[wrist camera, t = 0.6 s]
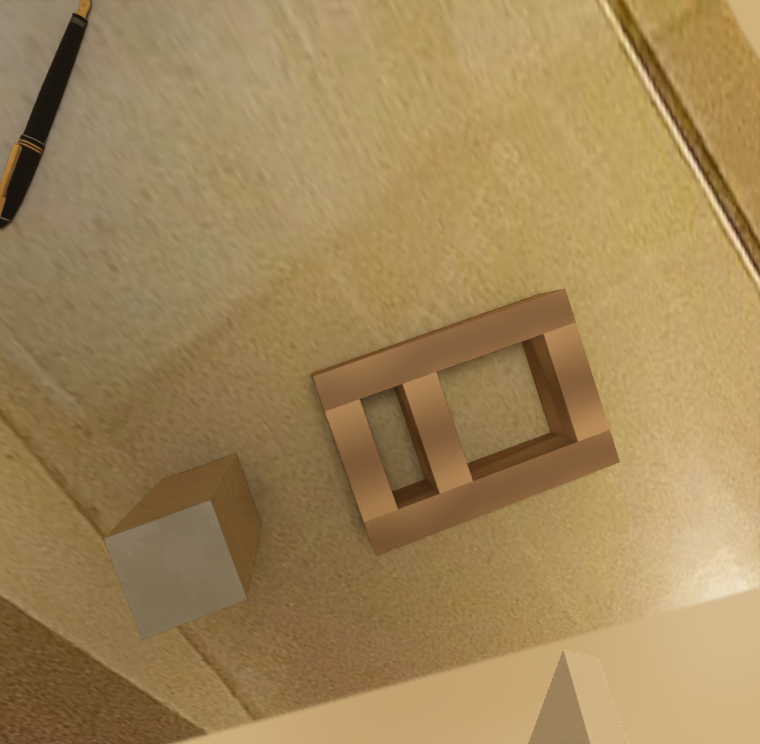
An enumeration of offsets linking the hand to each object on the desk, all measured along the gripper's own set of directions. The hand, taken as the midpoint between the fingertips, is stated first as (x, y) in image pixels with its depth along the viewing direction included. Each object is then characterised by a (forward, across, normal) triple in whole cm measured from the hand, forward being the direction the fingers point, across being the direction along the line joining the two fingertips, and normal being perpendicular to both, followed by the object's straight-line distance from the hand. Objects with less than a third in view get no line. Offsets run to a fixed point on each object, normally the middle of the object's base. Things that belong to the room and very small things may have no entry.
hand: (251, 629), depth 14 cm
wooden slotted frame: (+27, +6, -4) cm, 28 cm away
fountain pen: (+27, -20, +8) cm, 35 cm away
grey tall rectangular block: (+23, -7, -11) cm, 26 cm away
